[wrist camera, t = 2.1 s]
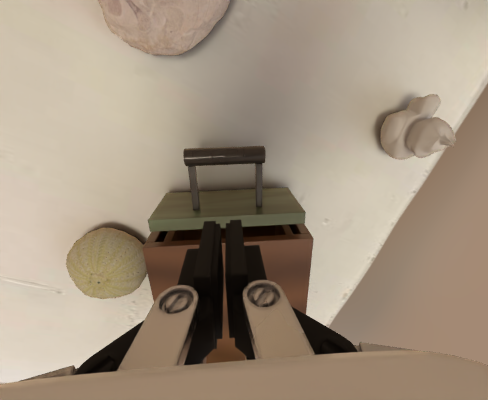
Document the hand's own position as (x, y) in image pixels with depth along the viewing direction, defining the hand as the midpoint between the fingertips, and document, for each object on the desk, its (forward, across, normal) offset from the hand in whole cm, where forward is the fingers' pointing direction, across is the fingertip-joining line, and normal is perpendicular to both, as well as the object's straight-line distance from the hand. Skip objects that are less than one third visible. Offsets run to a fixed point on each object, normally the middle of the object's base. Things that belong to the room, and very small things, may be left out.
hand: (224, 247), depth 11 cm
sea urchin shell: (+17, +15, +11) cm, 26 cm away
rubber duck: (+17, -20, -4) cm, 26 cm away
